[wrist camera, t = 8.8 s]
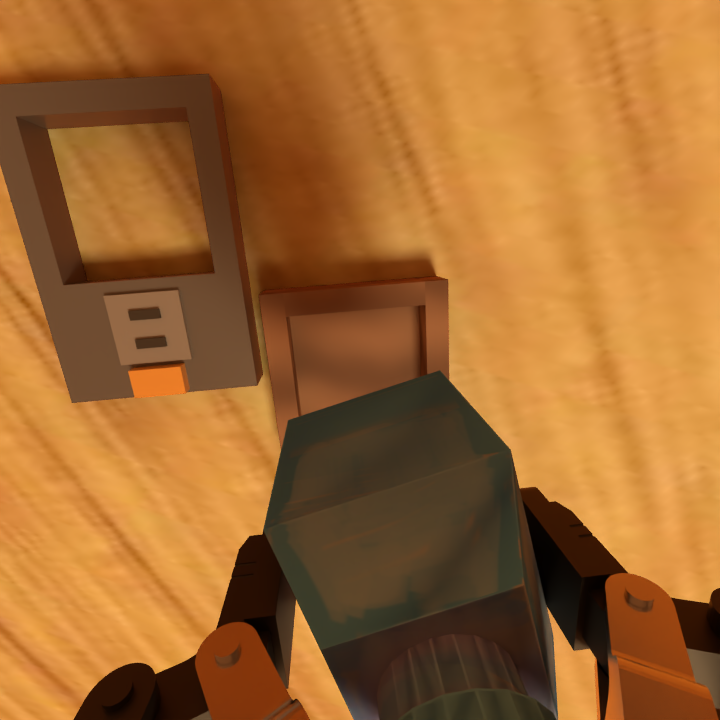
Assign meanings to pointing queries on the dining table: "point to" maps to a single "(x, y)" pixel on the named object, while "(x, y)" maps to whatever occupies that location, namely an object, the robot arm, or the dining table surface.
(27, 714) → the dining table surface
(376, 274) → the dining table surface
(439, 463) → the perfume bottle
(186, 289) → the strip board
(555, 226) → the dining table surface
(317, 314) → the walnut tray
